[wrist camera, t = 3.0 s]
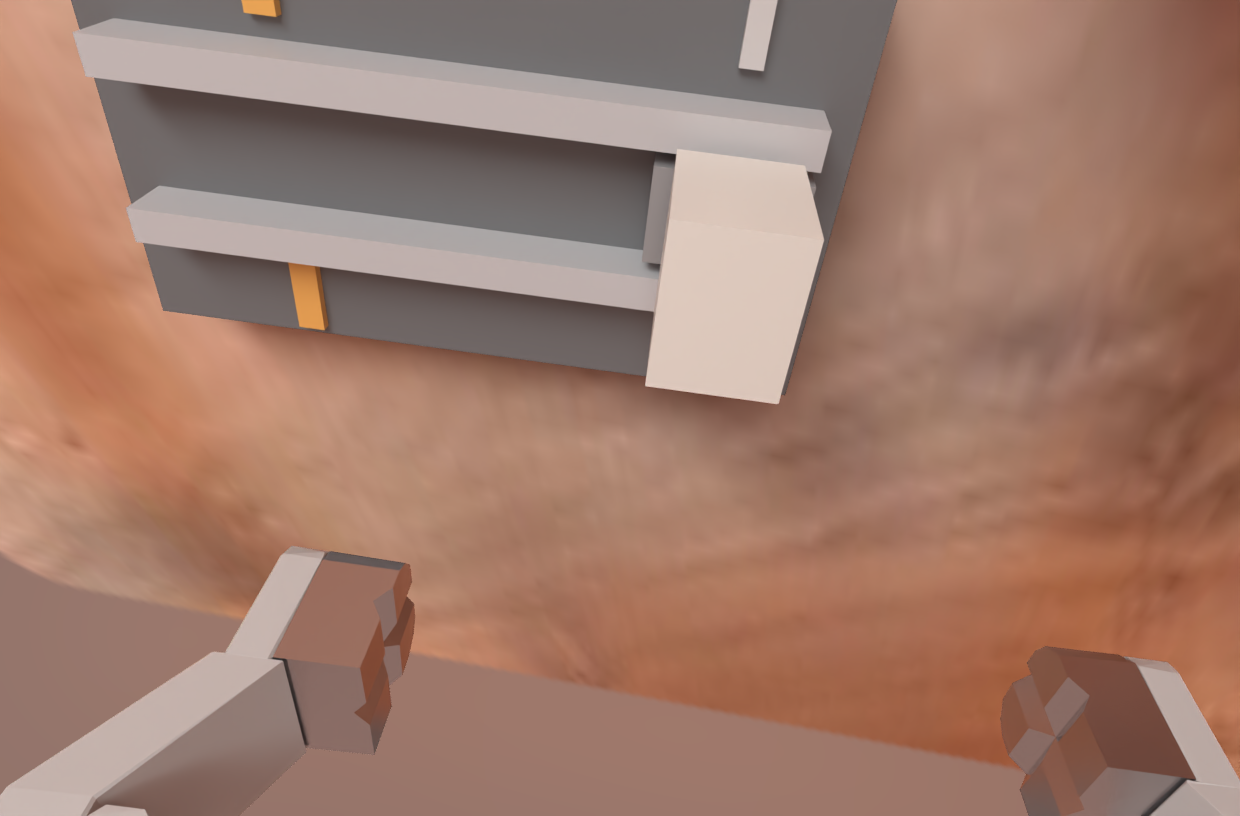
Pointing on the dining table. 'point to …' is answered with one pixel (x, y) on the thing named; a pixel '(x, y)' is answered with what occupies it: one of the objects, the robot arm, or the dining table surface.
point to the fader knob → (728, 271)
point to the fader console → (456, 153)
